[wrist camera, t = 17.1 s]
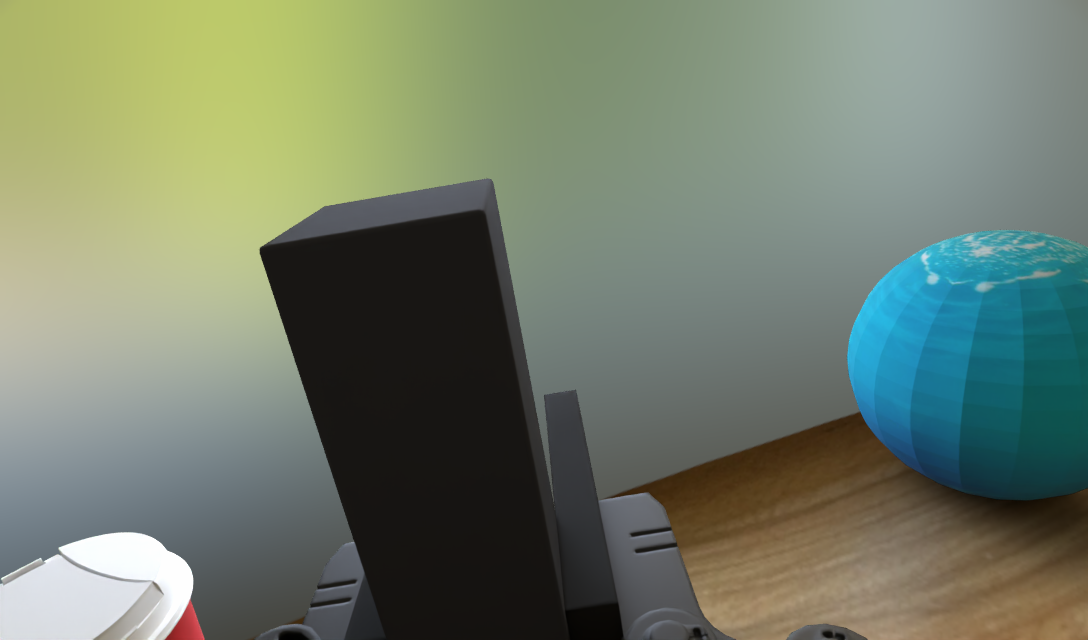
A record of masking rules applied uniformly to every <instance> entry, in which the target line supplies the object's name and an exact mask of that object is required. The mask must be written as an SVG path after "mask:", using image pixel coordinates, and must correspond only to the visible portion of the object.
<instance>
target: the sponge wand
mask: <svg viewBox="0 0 1088 640" xmlns="http://www.w3.org/2000/svg"><path fill="white" fill-rule="evenodd" d="M260 255H261V258H262V261H263V265H264V267H265V270H266V274H267V277H268V280H269V283H270V286H271V289H272V292H273V295H274V298H275V301H276V304H277V307H278V310H279V313H280V316H281V319H282V323H283V325H284V329H285V332H286V335H287V337H288V341H289V344H290V347H291V350H292V353H293V356H294V359H295V362H296V365H297V368H298V371H299V374H300V377H301V381H302V384H303V387H304V390H305V393H306V396H307V399H308V402H309V405H310V408H311V411H312V414H313V417H314V420H315V423H316V426H317V429H318V432H319V435H320V438H321V442H322V445H323V448H324V450H325V454H326V457H327V460H328V463H329V466H330V469H331V472H332V475H333V478H334V481H335V484H336V487H337V490H338V494H339V497H340V500H341V503H342V506H343V509H344V512H345V515H346V518H347V521H348V524H349V527H350V530H351V533H352V536H353V539H354V542H355V545H356V548H357V552H358V555H359V558H360V561H361V564H362V567H363V570H364V573H365V576H366V579H367V582H368V585H369V588H370V591H371V594H372V597H373V600H374V603H375V606H376V610H377V613H378V616H379V619H380V622H381V625H382V628H383V631H384V634H385V637H386V640H570V634H569V629H568V624H567V619H566V614H565V606H564V596H563V586H562V575H561V565H560V554H559V544H558V533H557V523H556V514H555V509H554V504H553V498H552V493H551V487H550V482H549V477H548V472H547V466H546V461H545V455H544V450H543V445H542V440H541V435H540V429H539V423H538V418H537V413H536V408H535V402H534V397H533V392H532V387H531V381H530V376H529V370H528V365H527V360H526V354H525V349H524V344H523V338H522V333H521V328H520V323H519V317H518V312H517V306H516V302H515V296H514V291H513V285H512V280H511V275H510V269H509V264H508V259H507V253H506V248H505V243H504V237H503V232H502V227H501V222H500V216H499V211H498V205H497V200H496V195H495V189H494V184H493V181H492V180H491V179H482V180H476V181H471V182H465V183H459V184H453V185H447V186H441V187H435V188H429V189H423V190H418V191H412V192H406V193H401V194H394V195H388V196H383V197H377V198H371V199H365V200H360V201H354V202H347V203H342V204H336V205H330V206H325V207H323V208H321V209H320V210H318V211H317V212H315V213H314V214H312V215H311V216H309V217H307V218H306V219H304V220H303V221H301V222H300V223H298V224H297V225H295V226H293V227H292V228H290V229H289V230H287V231H285V232H284V233H282V234H281V235H279V236H278V237H276V238H275V239H273V240H272V241H270V242H268V243H267V244H265V245H264V246H262V247H261V248H260Z"/></svg>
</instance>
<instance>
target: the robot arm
mask: <svg viewBox="0 0 1088 640" xmlns="http://www.w3.org/2000/svg"><path fill="white" fill-rule="evenodd" d="M544 399H545V410H546V421H547V431H548V442H549V453H550V463H551V474H552V484H553V495H554V506H555V514H556V523H557V533H558V544H559V554H560V565H561V575H562V586H563V596H564V606H565V614H566V619H567V624H568V629H569V634H570V640H736V639H734V638H731V637H729V636H727V635H725V634H723V633H722V632H720V631H719V630H717V629H716V628H715V627H713V626H712V625H711V624H710V622H709V621H708V620H707V619H706V618H705V617H704V615H703V613H702V611H701V609H700V607H699V604H698V602H697V599H696V596H695V593H694V590H693V587H692V585H691V582H690V579H689V576H688V573H687V570H686V568H685V565H684V562H683V559H682V556H681V553H680V551H679V548H678V546H677V542H676V539H675V536H674V534H673V531H672V529H671V525H670V522H669V519H668V517H667V514H666V511H665V508H664V507H663V506H662V505H661V504H660V503H659V502H658V501H657V500H655V499H654V498H653V497H652V496H651V495H650V494H649V493H642V494H636V495H630V496H624V497H617V498H611V499H605V500H599V501H598V498H597V493H596V488H595V483H594V478H593V473H592V468H591V463H590V458H589V453H588V448H587V443H586V438H585V433H584V428H583V423H582V418H581V413H580V408H579V403H578V398H577V393H576V390H572V391H565V392H559V393H553V394H547V395H544ZM317 587H318V589H317V590H316V591H315V593H314V596H313V598H312V601H311V603H310V605H311V607H310V608H309V609H308V611H307V613H306V616H305V618H304V621H303V624H302V625H301V624H292V625H283V626H280V627H277V628H274V629H272V630H269V631H267V632H264V633H262V634H261V635H259V636H258V637H256V638H255V639H253V640H386V637H385V634H384V631H383V628H382V625H381V622H380V619H379V616H378V613H377V610H376V606H375V603H374V600H373V597H372V594H371V591H370V588H369V585H368V582H367V579H366V576H365V573H364V570H363V567H362V564H361V561H360V558H359V555H358V552H357V548H356V545H355V542H352V543H346V544H343V545H342V546H341V547H340V549H339V550H338V551H337V552H336V553H335V554H334V556H333V557H332V558H331V559H330V560H329V561H328V562H327V564H326V565H325V568H324V570H323V573H322V575H321V578H320V580H319V583H318V586H317ZM786 640H868V639H866V638H865V637H863V636H861V635H859V634H857V633H855V632H853V631H851V630H849V629H847V628H844V627H839V626H834V625H829V624H818V625H807V626H804V627H802V628H800V629H798V630H796V631H794V632H792V633H791V634H790V635H789V637H788V638H787V639H786Z"/></svg>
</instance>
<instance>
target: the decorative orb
mask: <svg viewBox="0 0 1088 640" xmlns="http://www.w3.org/2000/svg"><path fill="white" fill-rule="evenodd" d="M847 360H848V372H849V377H850V381H851V384H852V388H853V392H854V395H855V398H856V401H857V404H858V406H859V410H860V412H861V414H862V416H863V418H864V420H865V421H866V423H867V425H868V426H869V428H870V429H871V430H872V432H873V433H874V434H875V435H876V437H877V438H878V439H879V440H880V441H881V442H882V443H883V444H884V445H885V446H886V447H887V448H888V449H889V450H890V451H891V452H892V453H893V454H894V455H895V456H896V457H898V458H899V459H900V460H901V461H902V462H903V463H904V464H905V465H907V466H909V467H911V468H912V469H914V470H916V471H918V472H919V473H921V474H923V475H925V476H926V477H928V478H930V479H932V480H933V481H935V482H937V483H939V484H941V485H944V486H947V487H950V488H952V489H955V490H958V491H961V492H964V493H967V494H972V495H977V496H982V497H987V498H992V499H1001V500H1035V499H1043V498H1049V497H1056V496H1062V495H1069V494H1073V493H1075V492H1078V491H1081V490H1084V489H1087V488H1088V247H1086V246H1084V245H1081V244H1079V243H1077V242H1074V241H1070V240H1067V239H1064V238H1060V237H1056V236H1052V235H1048V234H1044V233H1038V232H1031V231H1018V230H995V231H982V232H976V233H970V234H966V235H962V236H958V237H954V238H950V239H947V240H944V241H941V242H938V243H936V244H934V245H931V246H929V247H927V248H924V249H922V250H921V251H919V252H917V253H916V254H914V255H912V256H911V257H909V258H908V259H906V260H905V261H903V262H901V263H900V264H898V265H897V266H896V267H894V268H893V269H892V270H891V271H890V272H889V273H887V274H886V275H885V276H884V277H883V278H882V279H881V280H880V281H879V282H878V284H877V285H876V286H875V287H874V289H873V290H872V292H871V293H870V294H869V296H868V297H867V299H866V301H865V303H864V305H863V307H862V309H861V311H860V313H859V315H858V317H857V319H856V321H855V323H854V326H853V329H852V333H851V336H850V340H849V346H848V356H847Z"/></svg>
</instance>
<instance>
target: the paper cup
mask: <svg viewBox="0 0 1088 640" xmlns="http://www.w3.org/2000/svg"><path fill="white" fill-rule="evenodd" d="M58 549H59V551H60V553H61V555H62V556H60V555H58V554H57V555H55V556H54V557H52V558H50V559H48V560H46V561H44V562H43V561H42V559H41V558H40V559H38V560H36V561H34V562H32V563H30V564H28V565H26V566H24V567H22V568H20V569H19V570H16V571H15V572H13V573H11V574H9V575H7V576H5V577H3V578H1V580H2V581H3V583H2V584H0V640H205V639H204V636H203V634H202V631H201V628H200V625H199V623H198V620H197V617H196V614H195V612H194V609H193V606H192V603H191V600H190V597H191V593H192V590H193V576H192V572H191V569H190V567H189V566H188V565H187V563H186V562H185V561H184V560H183V559H181V558H180V557H179V556H177V555H175V554H173V553H171V552H168V551H166V549H165V548H164V547H163V545H162V544H161V543H159V542H158V541H157V540H155V539H153V538H151V537H149V536H147V535H143V534H139V533H130V532H129V533H113V534H106V535H100V536H95V537H91V538H87V539H84V540H80V541H77V542H73V543H70V544H68V545H65V546H62V547H59V548H58ZM3 585H4V586H3Z"/></svg>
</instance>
